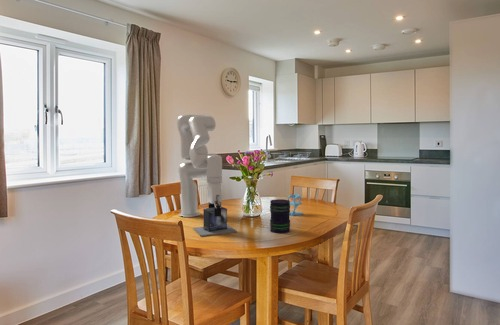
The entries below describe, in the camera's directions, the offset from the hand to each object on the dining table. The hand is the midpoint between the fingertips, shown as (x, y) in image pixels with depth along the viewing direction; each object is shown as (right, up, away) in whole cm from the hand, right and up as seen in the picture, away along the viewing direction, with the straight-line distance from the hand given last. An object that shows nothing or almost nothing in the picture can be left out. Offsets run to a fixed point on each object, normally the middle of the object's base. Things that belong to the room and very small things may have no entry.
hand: (214, 214), depth 180 cm
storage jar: (+33, -8, -1) cm, 34 cm away
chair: (+44, -6, +35) cm, 57 cm away
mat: (0, -8, 0) cm, 8 cm away
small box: (0, -8, 0) cm, 8 cm away
